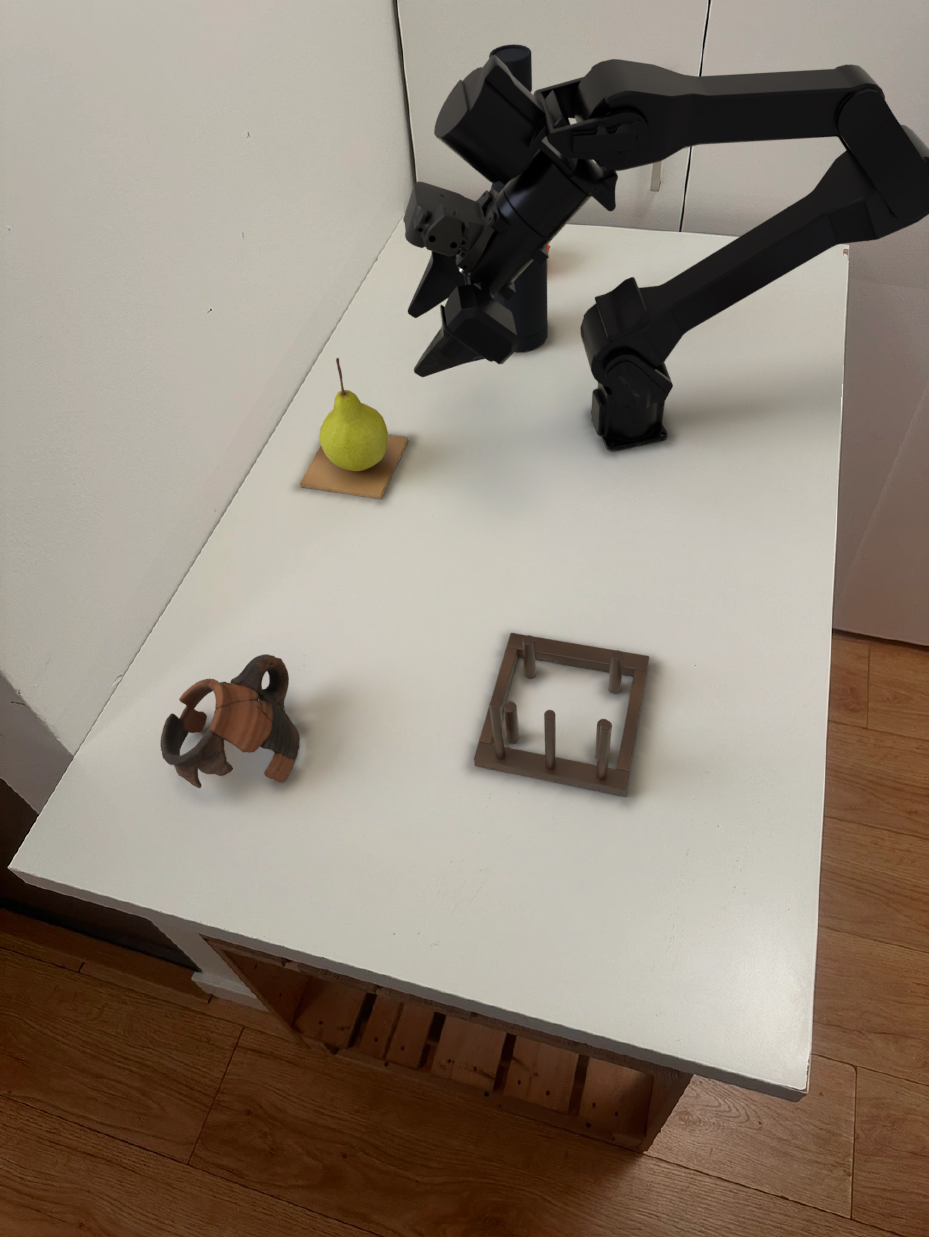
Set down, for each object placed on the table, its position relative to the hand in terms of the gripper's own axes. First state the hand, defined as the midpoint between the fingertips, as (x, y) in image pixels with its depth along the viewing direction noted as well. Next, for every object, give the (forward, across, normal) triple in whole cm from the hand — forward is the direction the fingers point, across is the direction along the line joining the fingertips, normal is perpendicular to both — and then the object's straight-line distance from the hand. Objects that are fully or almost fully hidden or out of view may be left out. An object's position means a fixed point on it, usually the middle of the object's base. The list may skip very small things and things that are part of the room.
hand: (414, 343), depth 81 cm
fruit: (+15, +1, +4) cm, 15 cm away
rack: (+4, +34, +16) cm, 37 cm away
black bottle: (+1, -18, +18) cm, 26 cm away
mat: (+15, 0, +4) cm, 16 cm away
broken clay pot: (+22, +32, -3) cm, 39 cm away
